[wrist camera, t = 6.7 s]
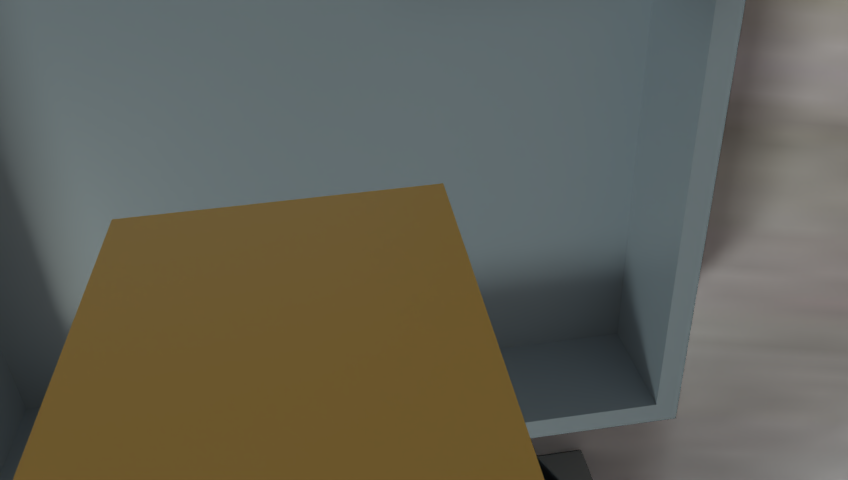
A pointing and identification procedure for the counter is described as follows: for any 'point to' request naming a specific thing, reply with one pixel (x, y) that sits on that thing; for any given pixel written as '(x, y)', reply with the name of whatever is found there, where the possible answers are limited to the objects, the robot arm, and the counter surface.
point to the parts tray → (384, 162)
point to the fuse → (283, 351)
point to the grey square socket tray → (567, 465)
